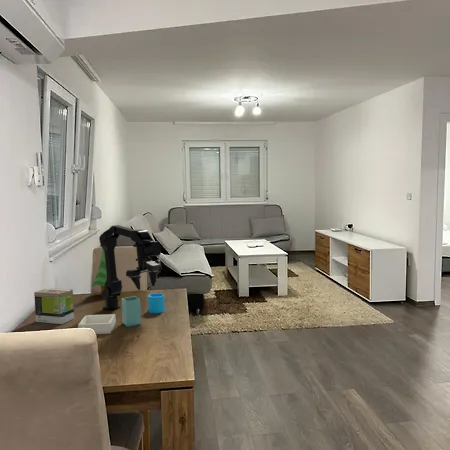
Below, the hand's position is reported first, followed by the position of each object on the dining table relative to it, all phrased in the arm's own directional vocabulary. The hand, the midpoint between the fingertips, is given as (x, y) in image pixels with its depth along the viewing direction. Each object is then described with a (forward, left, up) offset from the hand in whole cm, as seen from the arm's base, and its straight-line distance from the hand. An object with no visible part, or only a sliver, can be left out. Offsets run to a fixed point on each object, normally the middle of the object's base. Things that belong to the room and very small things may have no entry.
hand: (146, 288), depth 211 cm
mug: (-5, +12, -15) cm, 19 cm away
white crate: (-7, -24, -14) cm, 29 cm away
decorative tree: (-52, +20, -15) cm, 58 cm away
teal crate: (+1, -11, -14) cm, 18 cm away
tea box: (-35, -26, -15) cm, 46 cm away
